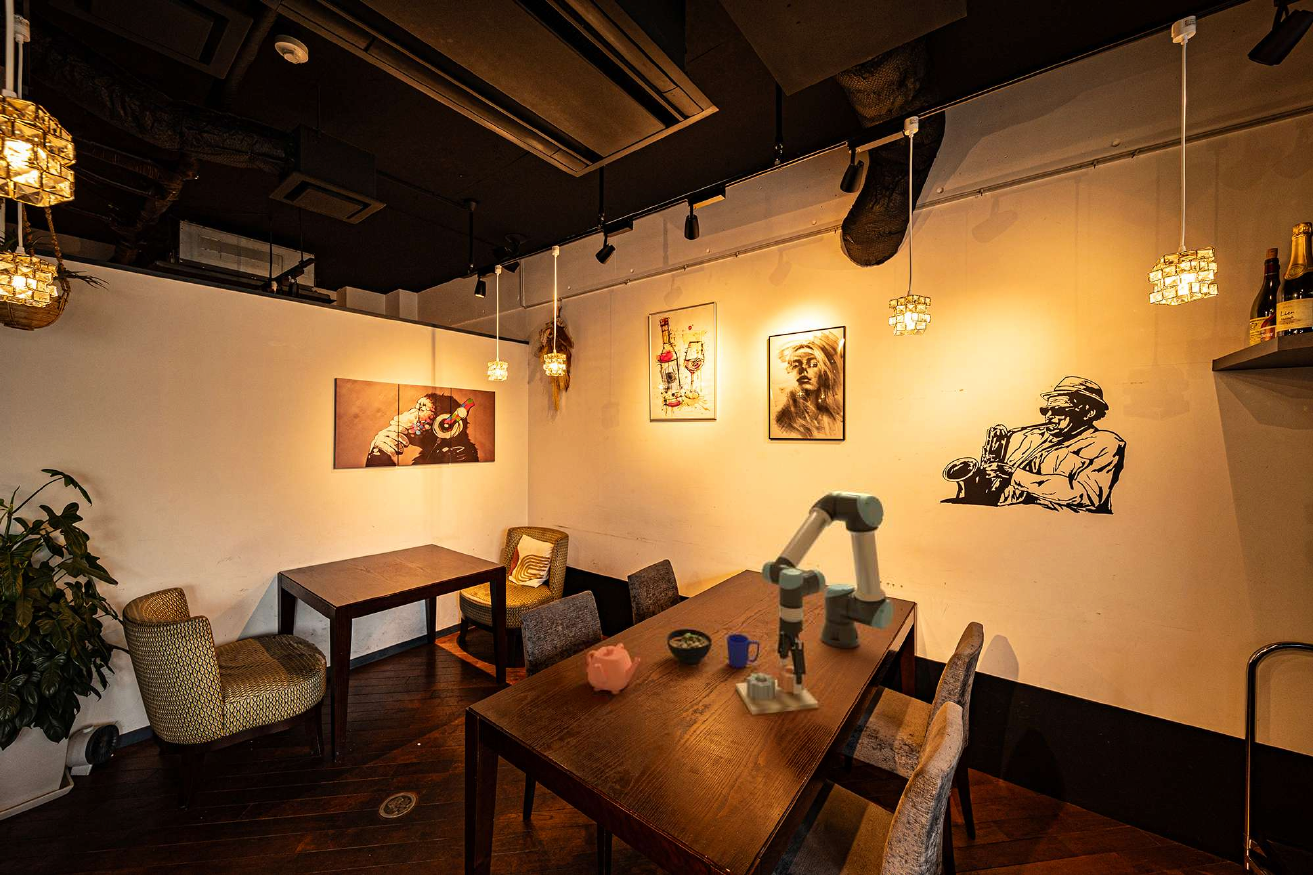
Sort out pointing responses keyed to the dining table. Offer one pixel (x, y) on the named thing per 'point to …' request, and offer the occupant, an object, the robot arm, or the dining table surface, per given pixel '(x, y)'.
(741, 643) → the mug
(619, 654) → the teapot
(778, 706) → the board
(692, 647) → the bowl
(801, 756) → the dining table surface
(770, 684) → the gear
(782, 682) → the gear
